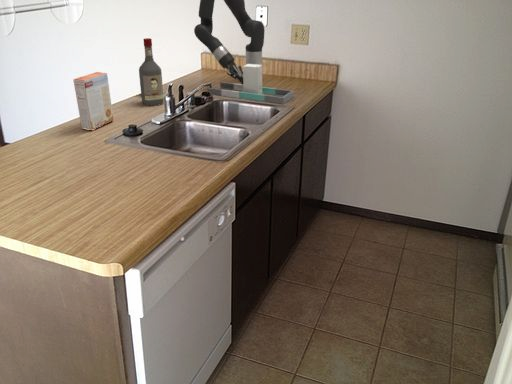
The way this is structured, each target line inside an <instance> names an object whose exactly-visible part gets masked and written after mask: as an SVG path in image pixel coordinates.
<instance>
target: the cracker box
mask: <svg viewBox="0 0 512 384" xmlns="http://www.w3.org/2000/svg"><path fill="white" fill-rule="evenodd" d="M73 86H74V91H75V97H76V103H77V108H78V109H77V110H78V115H79V120H80V124H81V125H80V127H81V129H82V128H87V129H95V128H97V127H99V126H102V125H104V124H106V123H109V122H111V121H113V120H114V113H113V106H112V99H111V92H110V84H109V78H108V73H107V72H100V71H96V72H92V73H90V74H86V75H83V76H79V77H76V78H73ZM113 122H114V121H113ZM111 123H112V122H111ZM109 124H110V123H109Z"/></svg>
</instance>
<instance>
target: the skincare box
mask: <svg viewBox="0 0 512 384" xmlns="http://www.w3.org/2000/svg"><path fill="white" fill-rule="evenodd" d="M242 71H243V85H244V91H243V92H246V93H254V94H261V95H263V93H262V87H263V64H262V65H257V64H247V65H246V64H244V65H243V66H242Z"/></svg>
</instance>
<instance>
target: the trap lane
mask: <svg viewBox="0 0 512 384" xmlns="http://www.w3.org/2000/svg"><path fill="white" fill-rule="evenodd" d="M208 92H209V93H211V94H210V95H213V96H220V97H221V96H222V97H227V98H235V99H243V100H249V101H250V100H251V101H258V102H264V103H265V102H266V103H273V104H279V105H284V104H286V103H287V102H289V101H290V100H292V99H293V98H294V97H295V90H289V89H283V88H275V87H267V86H266V87H265V86H264V87H263V86H262V95H261V94H254V93H246V92H244V85H242V83H233V82H225V81H224V82H223V81H220V87H217V88H214V87H207V93H208Z"/></svg>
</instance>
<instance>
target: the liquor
mask: <svg viewBox="0 0 512 384" xmlns="http://www.w3.org/2000/svg"><path fill="white" fill-rule="evenodd" d="M152 41H153V40H152V38H150V37H148V38H143V47H144V61H143V62H142V64H141V65H140V66H139V68H138V75H139V76H138V77H139V85H140V94H141V95H140V97H141V102H142V104H143V103H144V104H143V105H144V106H146V105H156V106H159V105H158V104H161V105H162V103H163V104H164V102H165V101H164V100H165V99H164V90H163V89H164V88H163V76H162V74H163V73H162V68H161V67H160V66H159V65H158V64H157V62H155V60H154V55H153V44H152V43H153V42H152Z"/></svg>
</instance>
